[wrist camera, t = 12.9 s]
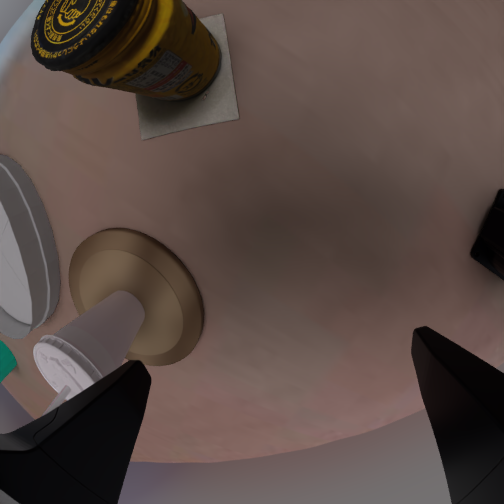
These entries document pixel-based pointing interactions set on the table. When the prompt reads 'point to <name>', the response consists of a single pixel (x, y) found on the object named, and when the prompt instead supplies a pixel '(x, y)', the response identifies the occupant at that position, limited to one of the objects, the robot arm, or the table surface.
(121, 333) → the smoothie
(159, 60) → the condiment
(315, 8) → the table surface
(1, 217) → the dish
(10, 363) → the candle
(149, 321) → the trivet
